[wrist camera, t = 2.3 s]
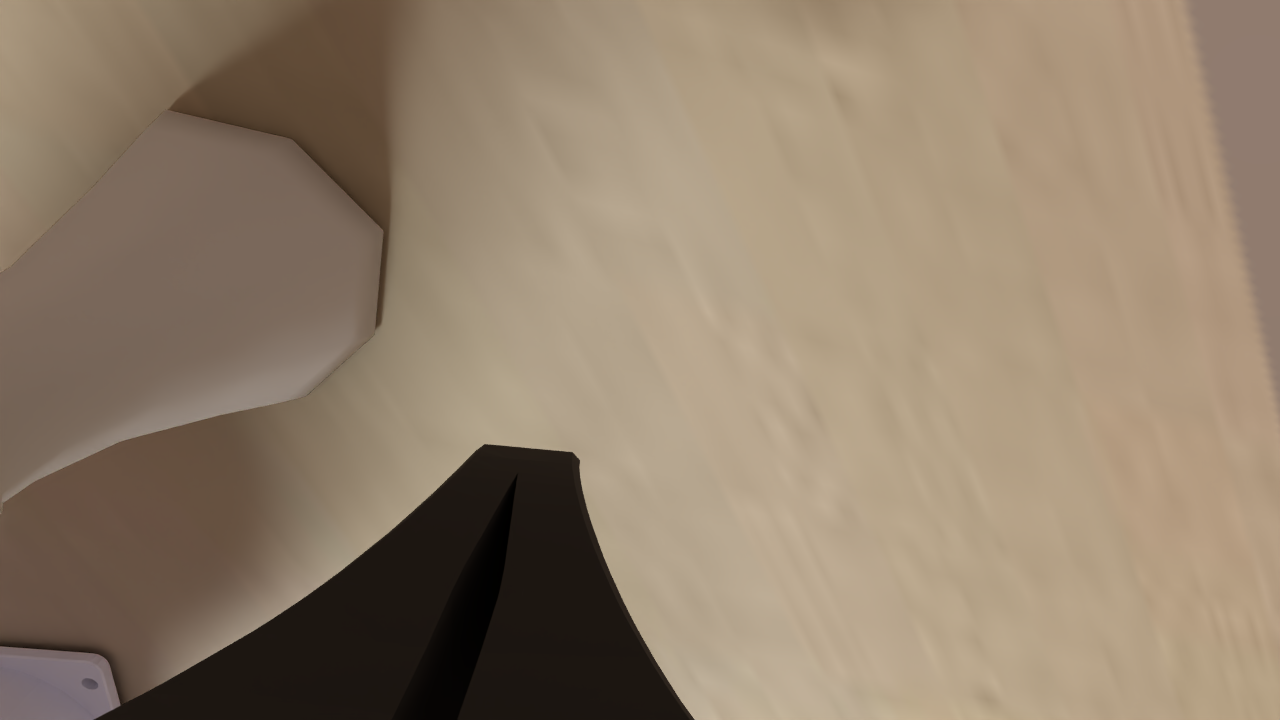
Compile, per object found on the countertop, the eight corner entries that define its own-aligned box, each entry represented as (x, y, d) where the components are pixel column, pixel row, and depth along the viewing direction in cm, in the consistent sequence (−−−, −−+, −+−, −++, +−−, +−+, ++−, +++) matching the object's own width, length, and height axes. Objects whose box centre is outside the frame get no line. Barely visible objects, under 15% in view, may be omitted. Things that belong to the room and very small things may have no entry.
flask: (68, 305, 18) (-500, 560, 9) (145, 50, 16) (-532, 48, 7) (328, 430, 20) (67, 753, 11) (435, 216, 17) (212, 398, 8)
